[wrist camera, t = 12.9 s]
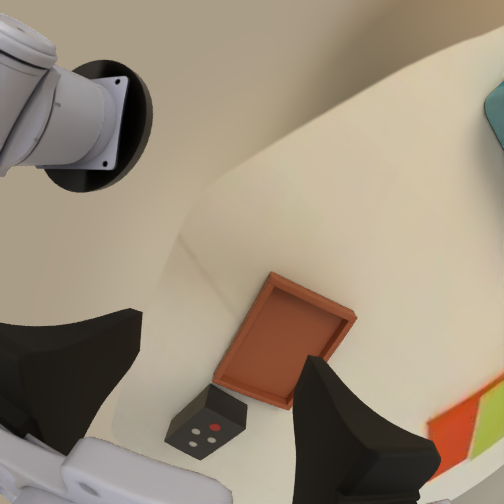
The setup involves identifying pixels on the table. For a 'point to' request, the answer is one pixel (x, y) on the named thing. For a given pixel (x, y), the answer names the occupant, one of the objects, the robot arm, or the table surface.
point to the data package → (496, 111)
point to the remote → (207, 423)
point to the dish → (281, 341)
